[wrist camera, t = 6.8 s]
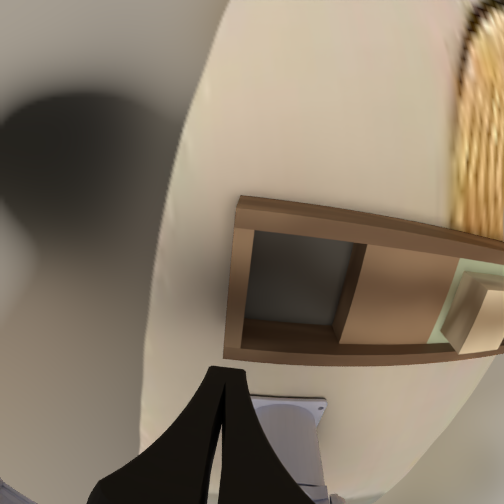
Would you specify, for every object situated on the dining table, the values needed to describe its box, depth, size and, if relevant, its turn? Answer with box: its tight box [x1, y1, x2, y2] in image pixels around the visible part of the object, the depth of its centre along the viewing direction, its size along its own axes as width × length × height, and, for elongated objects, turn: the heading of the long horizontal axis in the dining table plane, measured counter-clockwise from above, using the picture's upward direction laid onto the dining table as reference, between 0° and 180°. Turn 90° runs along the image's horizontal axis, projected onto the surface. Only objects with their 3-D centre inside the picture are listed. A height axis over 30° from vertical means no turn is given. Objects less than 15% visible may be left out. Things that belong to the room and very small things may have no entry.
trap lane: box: [223, 195, 504, 366], centre depth 18 cm, size 9×29×4 cm, turn 84°
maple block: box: [440, 271, 504, 354], centre depth 16 cm, size 5×5×3 cm
